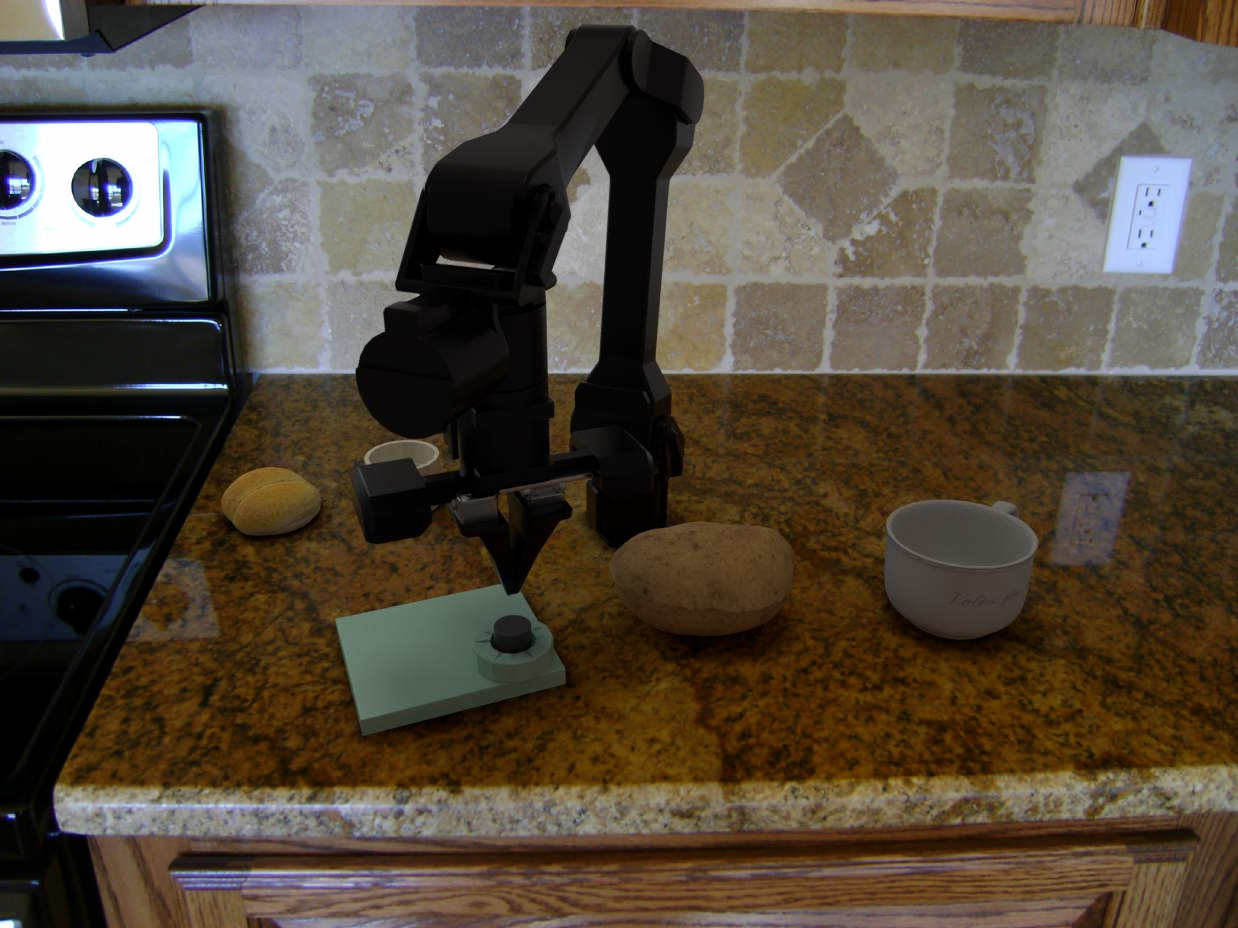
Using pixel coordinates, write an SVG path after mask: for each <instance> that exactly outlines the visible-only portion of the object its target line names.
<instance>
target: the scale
mask: <svg viewBox="0 0 1238 928" xmlns="http://www.w3.org/2000/svg"><path fill="white" fill-rule="evenodd" d="M507 615H520V616H524V617H526V618H527V619H528V620H529V621H530V622H531V634H532V644H531V646H530V648H529V649H528V650H526V651H524V652H520V653H515V654H508V653H501V652H499V651H498V650H497V649H496V648H495V645H494V628H493V627H494V624H495V622H496V621H497V620H498V619H500V618H501V617H504V616H507ZM335 628H336V635H337V638H338V642H339V646H340V650H341V655H342V658H343V662H344V667H345V670H346V675H347V679H348V683H349V687H350V691H351V694H352V695H351V696H352V699H353V703H354V707H355V711H356V715H357V719H358V723H359V728H360V732H361V735H362V737H365V736H369V735H373V734H377V733H380V732H384V731H388V730H392V729H396V728H399V727H403V726H407V725H412V724H416V723H419V722H423V721H426V720H430V719H434V718H438V717H443V716H447V715H450V714H454V713H458V712H462V711H465V710H469V709H473V708H477V707H482V706H485V705H489V704H493V703H496V702H500V701H504V700H509V699H512V698H517V697H521V696H525V695H528V694H532V693H535V692H539V691H543V690H548V689H551V688H555V687H559V686H563V685H566V684H567V677H566V676H567V675H566V674H567V672H566V671H567V669H566V667H565V665H564V663H563V662H562V660H561V658H560V656H559V655H558V653H557V651H556V649H555V646H554V643H555V640H554V639H555V638H554V635H553V633H552V632H551V630H550V628H549V627H548V624H545V623H543V622H541V621H539V620H538V619H537V617H536V615H535V613H534V612H533V610H532V608H531V606H530V605H529V603H528V601H527V600H526V598H525V596H524V594H523V593H522V591H521V590H520V591H519V593H518V594H512V595H509V596H507V594H506V593H505V591H504V589H503V587H502V584H501V583H497V584H494V585H489V586H485V587H481V588H474V589H470V590H465V591H461V592H455V593H450V594H447V595H441V596H438V597H432V598H427V599H422V600H418V601H413V602H409V603H403V604H399V605H395V606H394V605H393V606H390V607H386V608H380V609H376V610H369V611H366V612H362V613H357V614H353V615H352V614H351V615H346V616H343V617H338V618H335Z"/></svg>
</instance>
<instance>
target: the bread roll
mask: <svg viewBox="0 0 1238 928" xmlns="http://www.w3.org/2000/svg"><path fill="white" fill-rule="evenodd" d="M321 497H322V496H321V494H320V491H319V490H318V489H317V487H315V486H314V485H312V484H311V483H309V482H308V481H307V480H306V479H305V478H303V477H302V476H301V475H300V474H298V473H296V472H294V471H292V470H290V469H287V468H284V467H274V466H267V467H261V468H256V469H253V470H251V471H248V472H245V473H244V474H242V475H241V476H239V477H238V478H237V479H235V480H234V481H233V482H232V483H230V484H229V486H228V487H227V488H226V490H225V491H224V493H223V494H222V497H221V510H222V513H223V515H224V516H225V517H226V518H227V519H228V521H230V522H231V523H232V524H233V525H234V527H235V528H236V530H238V531H239V532H241V533H242V534H245V535H247V536H255V537H258V536H262V537H263V536H277V535H278V536H279V535H282V534H287V533H290V532H294V531H296V530H298V529H301V528H303V527H305V526H306V525H308V524H309V523H310V522H311V521H312V520H314V518H315V517H316V516H317V515H318V513H319V512H320V510H321V507H322V506H321V505H322V503H321V502H322V499H321Z"/></svg>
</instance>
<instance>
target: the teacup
mask: <svg viewBox="0 0 1238 928" xmlns="http://www.w3.org/2000/svg"><path fill="white" fill-rule="evenodd" d="M1019 515H1020V514H1019V509H1018V507H1017V506H1016V505H1015V504H1014V503H1012V502H1009V501H1007V500H1006V501H1005V500H998V501H996V502H994V503H993V504H992V505H991V506H989V505H986V504H982V503H977V502H971V501H967V500H957V499H928V500H927V499H926V500H921V501H916V502H911V503H908V504H905V505H902V506H900V507H898V508H896V509H895V510H893V511H892V512H891V513H890V514H889V515H888V516H887V519H886V522H885V533H886V540H885V548H884V549H885V552H884V568H883V575H884V576H883V577H884V581H883V582H884V588H885V593H886V595H887V598H888V600H889V602H890V604H891V605H892V606H893V608H894V609H895V610H896V612H898V613H899V614H900V615H901V616H902V617H904V618H905V619H906V620H908V621H909V622H910V623H911V624H912V625H913V626H915V627H916V628H918V629H920V630H921V631H923V632H925V633H927V634H930V635H933V636H936V637H938V638H942V639H943V638H944V639H948V640H958V641H962V640H963V641H965V640H974V639H978V638H982V637H985V636H988V635H990V634H993V633H996V632H999V631H1001V630H1002V629H1004V628H1006V627H1008V626H1010V624H1011V623H1013V622H1014V621H1015V620H1016V619H1017V618H1018V616H1019V615H1020V613H1021V612H1022V610H1023V607H1024V605H1025V602H1026V599H1027V595H1028V591H1029V586H1030V584H1031V583H1030V582H1031V577H1032V572H1033V566H1034V562H1035V555H1036V554H1037V551H1038V548H1039V537H1037V534H1036V532H1035V531H1034V530H1033V529H1032V528H1031V526H1029V525H1028V524H1027V523H1026V522H1024V521H1022V519H1020V518H1019Z"/></svg>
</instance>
